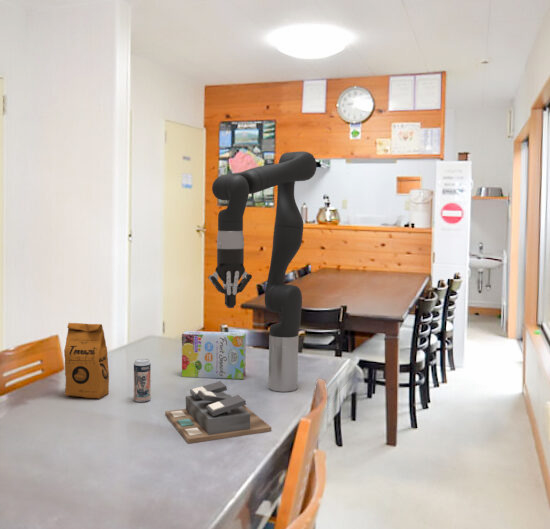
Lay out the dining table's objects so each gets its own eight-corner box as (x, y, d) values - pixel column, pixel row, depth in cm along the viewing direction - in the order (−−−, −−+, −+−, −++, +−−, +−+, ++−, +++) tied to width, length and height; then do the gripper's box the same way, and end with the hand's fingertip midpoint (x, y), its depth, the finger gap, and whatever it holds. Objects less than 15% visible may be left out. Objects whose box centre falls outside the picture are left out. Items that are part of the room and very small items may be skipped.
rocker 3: (207, 413, 154) (205, 405, 154) (239, 401, 158) (237, 394, 158) (213, 419, 150) (211, 411, 149) (246, 407, 153) (245, 399, 153)
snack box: (245, 375, 207) (246, 332, 206) (243, 380, 201) (243, 335, 200) (185, 372, 209) (185, 329, 208) (181, 377, 204) (181, 333, 202)
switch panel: (165, 415, 166) (165, 397, 165) (239, 405, 175) (240, 388, 175) (188, 443, 146) (188, 423, 146) (271, 431, 155) (271, 412, 155)
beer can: (134, 403, 175) (134, 362, 174) (133, 398, 180) (133, 358, 179) (151, 402, 177) (151, 362, 176) (150, 397, 181) (149, 358, 180)
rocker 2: (196, 397, 160) (198, 389, 160) (227, 401, 164) (229, 393, 164) (202, 403, 156) (204, 394, 156) (234, 407, 160) (236, 399, 160)
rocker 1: (190, 396, 167) (189, 389, 167) (221, 387, 171) (220, 380, 170) (196, 402, 162) (195, 394, 162) (227, 392, 166) (226, 385, 166)
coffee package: (98, 401, 176) (98, 327, 174) (60, 398, 179) (58, 325, 177) (114, 391, 186) (114, 321, 184) (77, 389, 188) (76, 319, 186)
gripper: (247, 245, 177) (246, 304, 178) (203, 246, 171) (203, 307, 173) (257, 247, 170) (256, 308, 171) (212, 248, 164) (212, 311, 166)
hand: (230, 307), depth 172 cm, fingers closed
